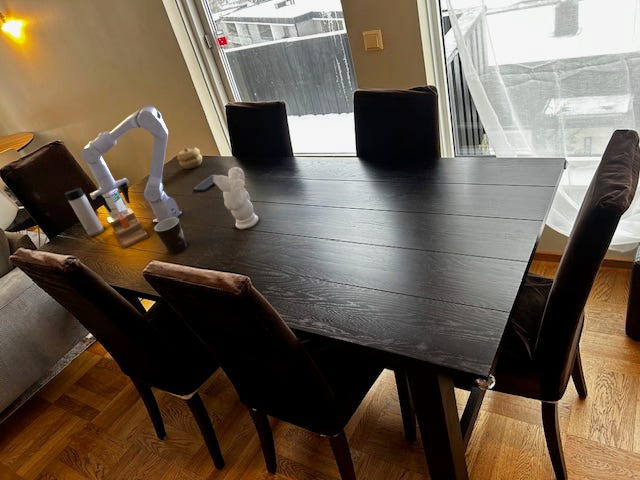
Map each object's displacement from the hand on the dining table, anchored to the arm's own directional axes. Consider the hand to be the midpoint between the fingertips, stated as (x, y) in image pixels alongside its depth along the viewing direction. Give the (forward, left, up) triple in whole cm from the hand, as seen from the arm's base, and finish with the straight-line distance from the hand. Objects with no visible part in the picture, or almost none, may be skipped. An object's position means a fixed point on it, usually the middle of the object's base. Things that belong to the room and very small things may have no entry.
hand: (119, 207), depth 176 cm
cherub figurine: (-55, -6, -10) cm, 56 cm away
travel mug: (+16, +4, -10) cm, 19 cm away
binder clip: (-5, +4, -6) cm, 8 cm away
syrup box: (+15, -9, -10) cm, 20 cm away
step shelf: (-4, +4, -10) cm, 11 cm away
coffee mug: (-35, +9, -10) cm, 38 cm away
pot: (+12, -57, -10) cm, 59 cm away
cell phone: (-13, -38, -9) cm, 41 cm away
